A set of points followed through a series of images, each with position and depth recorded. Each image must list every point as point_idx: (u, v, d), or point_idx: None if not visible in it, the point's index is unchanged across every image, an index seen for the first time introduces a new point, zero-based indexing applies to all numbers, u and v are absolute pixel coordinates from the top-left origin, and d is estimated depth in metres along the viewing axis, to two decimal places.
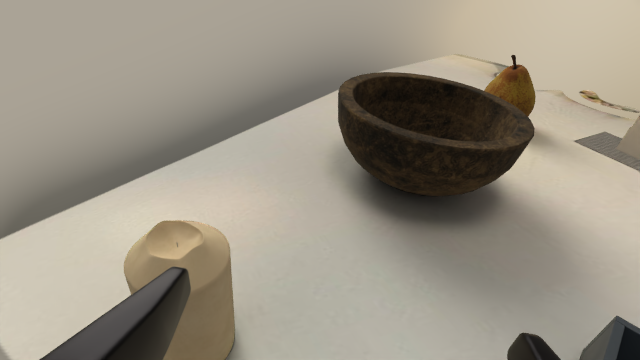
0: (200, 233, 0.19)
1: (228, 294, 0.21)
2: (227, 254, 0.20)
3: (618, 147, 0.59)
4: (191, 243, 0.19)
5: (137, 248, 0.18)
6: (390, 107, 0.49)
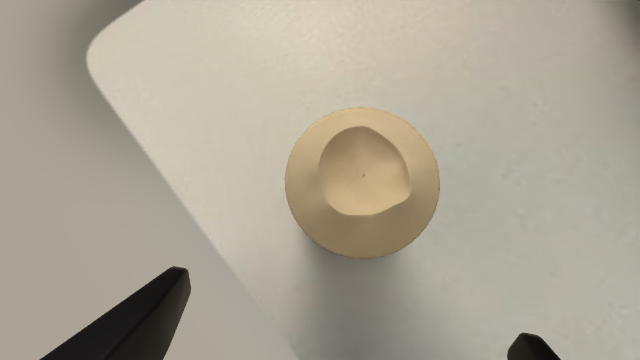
0: (401, 160, 0.11)
1: None
2: (436, 195, 0.12)
3: None
4: (383, 174, 0.12)
5: (304, 172, 0.12)
6: None
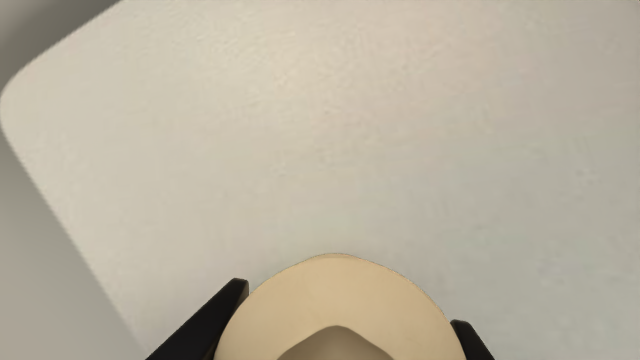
0: None
1: None
2: None
3: None
4: None
5: None
6: None
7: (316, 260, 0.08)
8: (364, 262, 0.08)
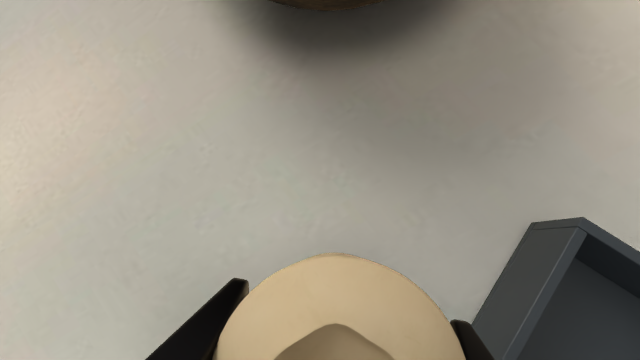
0: None
1: None
2: None
3: None
4: None
5: None
6: None
7: (315, 259, 0.08)
8: (363, 261, 0.08)
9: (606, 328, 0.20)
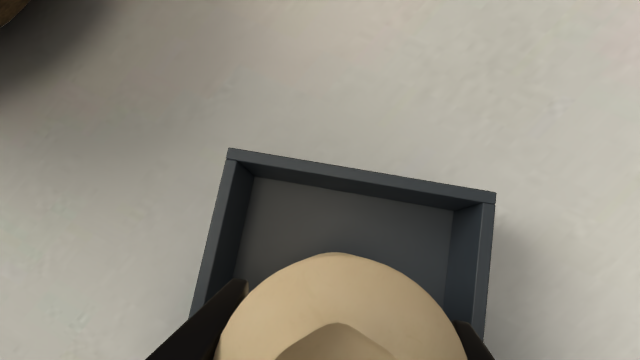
0: None
1: None
2: None
3: None
4: None
5: None
6: None
7: (316, 258, 0.08)
8: (364, 260, 0.08)
9: (338, 234, 0.20)
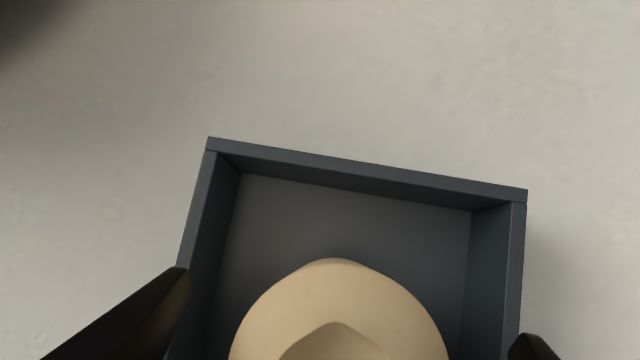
0: None
1: None
2: None
3: None
4: None
5: None
6: None
7: (317, 266, 0.09)
8: (359, 268, 0.09)
9: (338, 239, 0.17)
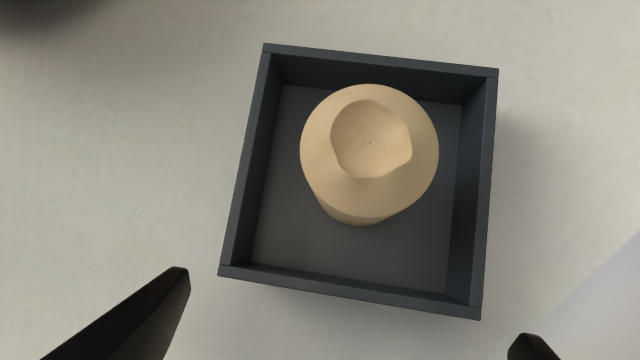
0: (403, 128, 0.13)
1: None
2: (436, 159, 0.13)
3: None
4: (388, 142, 0.13)
5: (317, 143, 0.13)
6: None
7: (353, 86, 0.14)
8: (379, 85, 0.14)
9: None
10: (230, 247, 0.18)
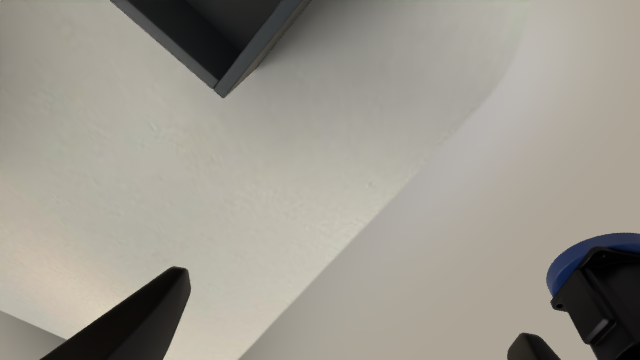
0: None
1: None
2: None
3: None
4: None
5: None
6: None
7: None
8: None
9: None
10: (200, 68, 0.15)
